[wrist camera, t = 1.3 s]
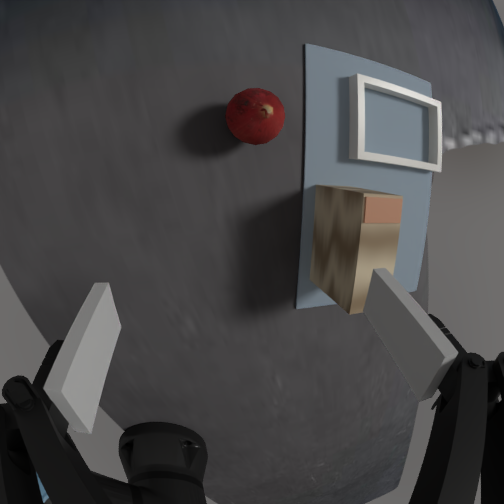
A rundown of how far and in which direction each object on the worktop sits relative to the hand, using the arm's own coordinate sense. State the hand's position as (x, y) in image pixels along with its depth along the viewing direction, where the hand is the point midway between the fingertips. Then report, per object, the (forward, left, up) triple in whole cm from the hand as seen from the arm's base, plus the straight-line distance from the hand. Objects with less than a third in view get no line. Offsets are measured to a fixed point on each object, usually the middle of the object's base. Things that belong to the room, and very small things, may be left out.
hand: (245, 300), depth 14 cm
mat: (+5, -23, -20) cm, 31 cm away
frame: (+13, -26, -20) cm, 35 cm away
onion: (+11, -5, -20) cm, 24 cm away
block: (-2, -16, -20) cm, 25 cm away
